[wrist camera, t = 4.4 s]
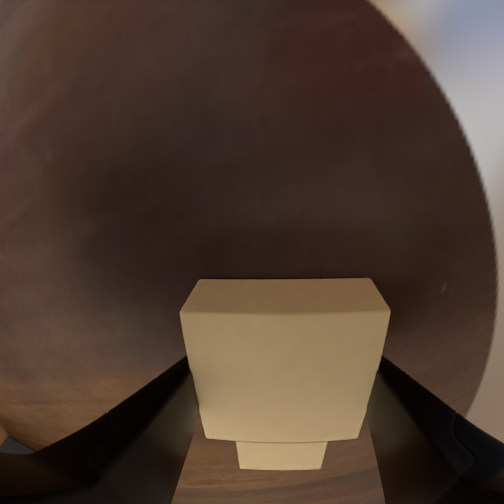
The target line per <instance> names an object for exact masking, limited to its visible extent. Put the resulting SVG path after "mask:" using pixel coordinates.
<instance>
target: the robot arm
mask: <svg viewBox="0 0 504 504" xmlns="http://www.w3.org/2000/svg"><path fill="white" fill-rule="evenodd" d="M198 413H199V403H198V399H197V394H196V390H195V385H194V380H193V376H192V372H191V370H190V367H189V362H188V357H187V356H185V357H184V358H182V359H181V360H180V361H178V362H177V363H176V364H174V365H173V366H172V367H170V368H169V369H167V370H166V371H165V372H163V373H162V374H161V375H159V376H158V377H156V378H155V379H154V380H152V381H151V382H150V383H148V384H147V385H145V386H144V387H143V388H141V389H140V390H138V391H137V392H136V393H134V394H133V395H131V396H130V397H128V398H127V399H126V400H124V401H123V402H121V403H120V404H118V405H117V406H116V407H114V408H113V409H111V410H110V411H109V412H108V413H105V414H104V415H102V416H101V417H99V418H98V419H96V420H95V421H93V422H92V423H90V424H89V425H87V426H85V427H84V428H82V429H80V430H78V431H77V432H75V433H73V434H71V435H69V436H67V437H65V438H63V439H61V440H59V441H57V442H55V443H53V444H51V445H49V446H47V447H45V448H43V449H41V450H39V451H36V452H33V453H29V454H11V453H3V452H0V504H171V502H172V499H173V496H174V493H175V490H176V487H177V484H178V480H179V477H180V474H181V471H182V468H183V465H184V462H185V459H186V455H187V452H188V449H189V446H190V443H191V440H192V437H193V434H194V430H195V427H196V423H197V418H198ZM367 415H368V423H369V428H370V432H371V437H372V441H373V445H374V449H375V454H376V458H377V463H378V468H379V472H380V477H381V482H382V487H383V492H384V497H385V502H386V504H504V443H502V442H501V441H499V440H497V439H496V438H494V437H492V436H490V435H489V434H487V433H486V432H484V431H483V430H481V429H479V428H478V427H476V426H475V425H474V424H472V423H471V422H469V421H468V420H467V419H465V418H464V417H463V416H461V415H460V414H459V413H456V411H455V410H453V409H452V408H451V407H449V406H448V405H447V404H445V403H444V402H443V401H442V400H440V399H439V398H438V397H436V396H435V395H434V394H432V393H431V392H430V391H428V390H427V389H426V388H424V387H423V386H422V385H421V384H419V383H418V382H417V381H415V380H414V379H413V378H411V377H410V376H409V375H407V374H406V373H405V372H404V371H402V370H401V369H400V368H398V367H397V366H396V365H394V364H393V363H392V362H390V361H389V360H388V359H387V358H385V357H384V356H381V360H380V364H379V368H378V370H377V372H376V376H375V380H374V383H373V387H372V391H371V394H370V398H369V401H368V404H367Z"/></svg>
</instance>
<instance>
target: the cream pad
mask: <svg viewBox="0 0 504 504" xmlns="http://www.w3.org/2000/svg"><path fill="white" fill-rule="evenodd" d="M390 313H391V311H390V309H389V307H388V305H387V304H386V302H385V301H384V299H383V297H382V296H381V294H380V293H379V291H378V289H377V288H376V286H375V285H374V283H373V282H372V280H371V278H341V279H200V280H199V281H198V282H197V284H196V286H195V287H194V289H193V291H192V292H191V294H190V296H189V297H188V299H187V301H186V302H185V304H184V305H183V307H182V309H181V311H180V319H181V325H182V330H183V336H184V341H185V346H186V352H187V357H188V362H189V367H190V370H191V372H192V376H193V380H194V385H195V390H196V394H197V399H198V403H199V411H200V415H201V419H202V423H203V427H204V431H205V435H206V438H211V439H222V440H234V441H236V445H237V452H238V458H239V465H240V468H241V469H258V470H309V469H321V466H322V462H323V458H324V455H325V451H326V447H327V443H328V441H333V440H345V439H356V438H358V435H359V432H360V429H361V426H362V423H363V420H364V417H365V414H366V411H367V404H368V401H369V398H370V394H371V391H372V387H373V383H374V380H375V376H376V372H377V370H378V368H379V364H380V360H381V356H382V352H383V347H384V343H385V338H386V334H387V329H388V324H389V319H390Z"/></svg>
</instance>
